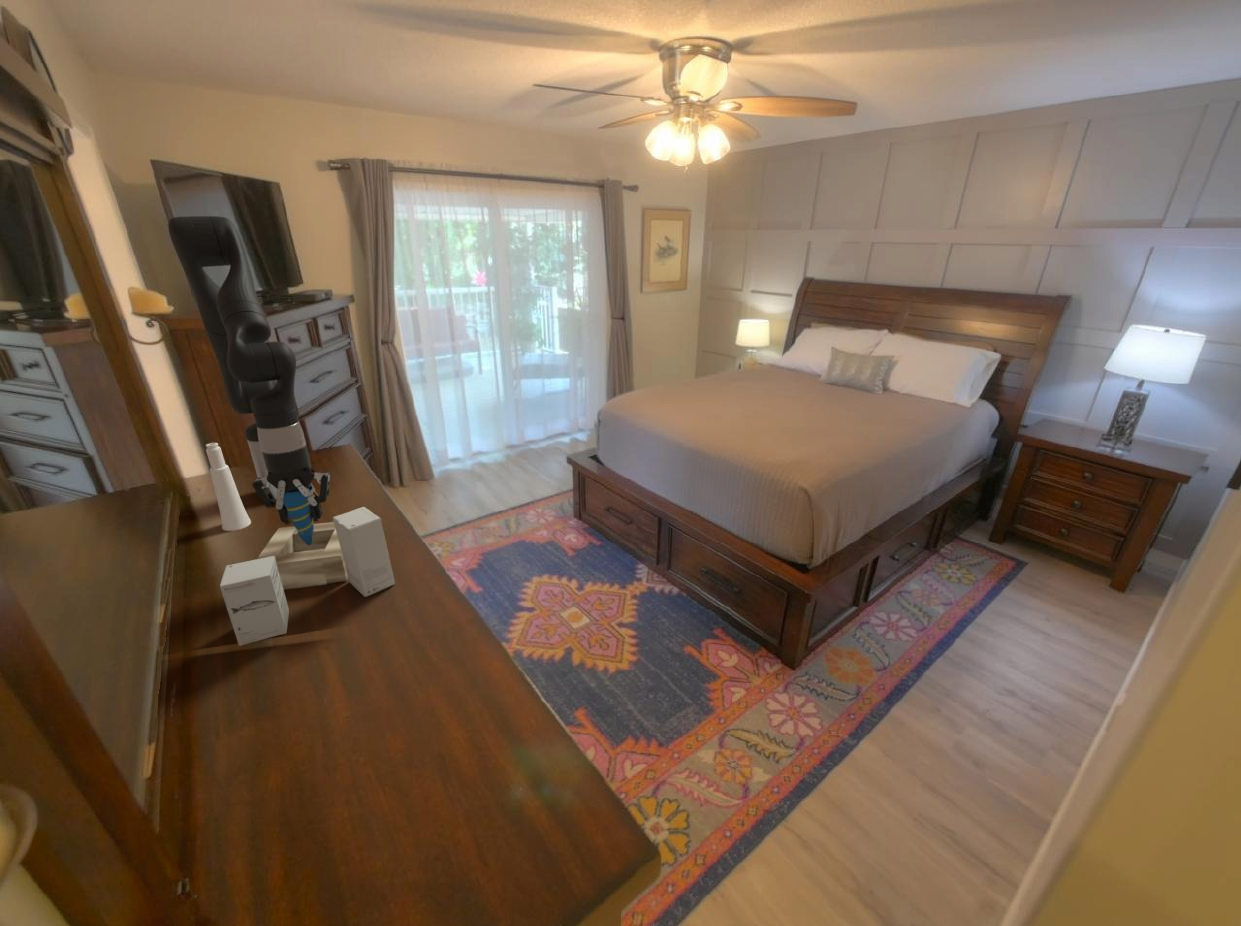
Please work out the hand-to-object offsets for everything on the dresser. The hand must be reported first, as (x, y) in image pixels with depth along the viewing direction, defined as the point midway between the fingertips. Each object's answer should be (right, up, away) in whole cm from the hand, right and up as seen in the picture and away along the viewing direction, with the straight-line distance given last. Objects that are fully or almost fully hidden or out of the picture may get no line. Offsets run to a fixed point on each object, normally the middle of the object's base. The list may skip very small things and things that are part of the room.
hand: (303, 521), depth 107 cm
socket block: (0, -10, +4) cm, 11 cm away
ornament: (0, -6, +2) cm, 6 cm away
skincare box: (+15, -13, -2) cm, 20 cm away
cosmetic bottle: (-29, -4, +20) cm, 35 cm away
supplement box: (+2, -18, -14) cm, 23 cm away
